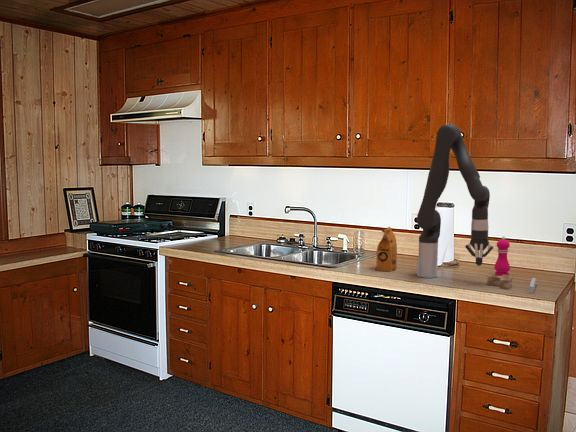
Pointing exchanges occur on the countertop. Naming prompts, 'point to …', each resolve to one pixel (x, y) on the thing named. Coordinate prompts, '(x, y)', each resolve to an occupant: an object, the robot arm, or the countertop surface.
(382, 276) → the countertop surface
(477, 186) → the robot arm
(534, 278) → the stop rail
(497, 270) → the pepper mill
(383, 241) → the coffee package
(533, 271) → the countertop surface
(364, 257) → the countertop surface
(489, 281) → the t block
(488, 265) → the countertop surface
